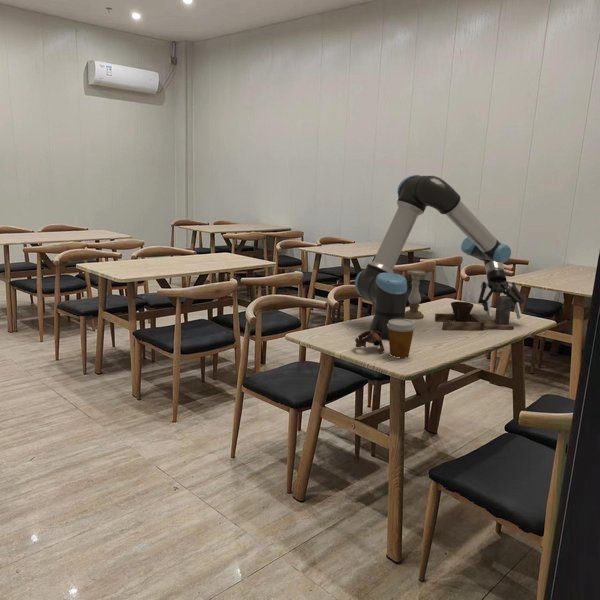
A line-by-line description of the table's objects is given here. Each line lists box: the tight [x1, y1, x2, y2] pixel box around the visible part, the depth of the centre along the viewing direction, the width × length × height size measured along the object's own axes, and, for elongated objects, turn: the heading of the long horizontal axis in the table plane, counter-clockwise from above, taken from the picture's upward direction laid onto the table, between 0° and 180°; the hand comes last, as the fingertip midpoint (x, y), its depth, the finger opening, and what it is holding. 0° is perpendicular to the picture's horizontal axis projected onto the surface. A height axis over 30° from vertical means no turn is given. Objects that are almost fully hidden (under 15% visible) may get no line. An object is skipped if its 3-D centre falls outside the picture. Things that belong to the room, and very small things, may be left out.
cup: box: [450, 301, 474, 322], centre depth 224 cm, size 9×9×10 cm
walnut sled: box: [434, 295, 515, 331], centre depth 224 cm, size 29×14×12 cm, turn 89°
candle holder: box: [405, 269, 426, 320], centre depth 236 cm, size 9×9×20 cm
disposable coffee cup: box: [387, 318, 416, 359], centre depth 185 cm, size 10×10×12 cm
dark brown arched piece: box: [354, 329, 385, 353], centre depth 192 cm, size 12×10×8 cm
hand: (504, 317), depth 222 cm, fingers open, 11 cm apart
